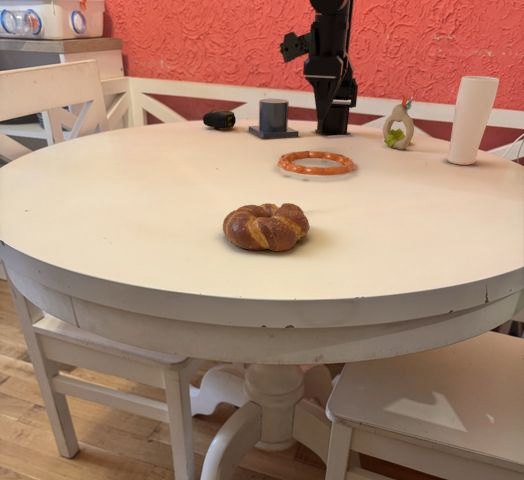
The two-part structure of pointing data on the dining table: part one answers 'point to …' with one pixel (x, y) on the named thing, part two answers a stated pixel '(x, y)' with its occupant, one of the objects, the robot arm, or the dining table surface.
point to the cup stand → (273, 120)
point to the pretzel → (266, 226)
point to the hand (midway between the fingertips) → (323, 115)
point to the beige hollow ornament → (397, 137)
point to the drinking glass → (471, 117)
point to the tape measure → (219, 119)
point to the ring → (346, 167)
